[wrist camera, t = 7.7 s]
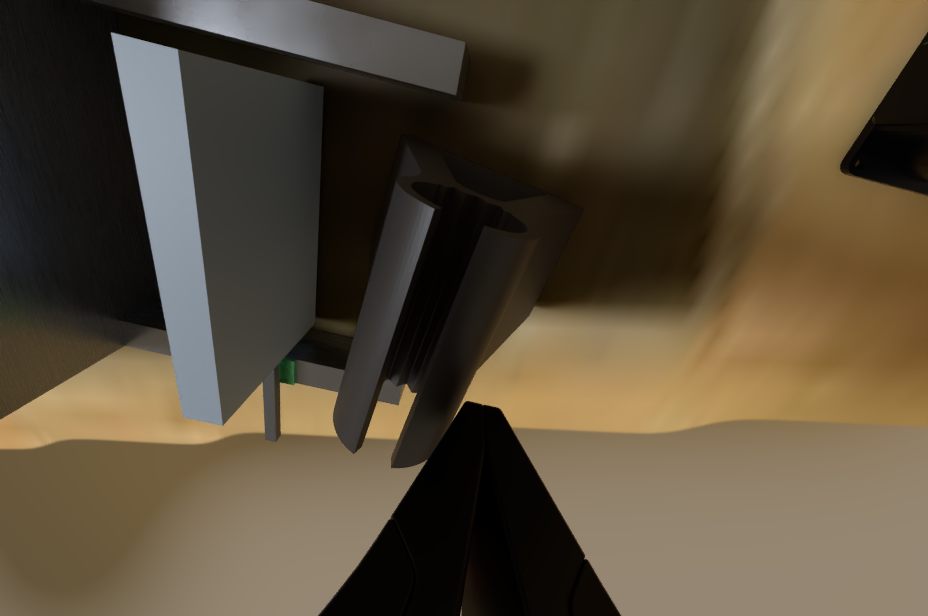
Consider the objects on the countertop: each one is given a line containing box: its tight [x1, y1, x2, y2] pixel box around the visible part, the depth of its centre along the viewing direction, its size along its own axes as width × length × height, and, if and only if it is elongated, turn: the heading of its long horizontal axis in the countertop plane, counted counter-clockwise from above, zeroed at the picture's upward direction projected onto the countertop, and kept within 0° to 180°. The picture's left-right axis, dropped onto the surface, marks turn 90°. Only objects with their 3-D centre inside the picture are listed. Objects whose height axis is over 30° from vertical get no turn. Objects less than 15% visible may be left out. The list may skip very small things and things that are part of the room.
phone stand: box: [333, 134, 584, 468], centre depth 12 cm, size 9×6×12 cm, turn 69°
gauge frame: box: [0, 0, 470, 419], centre depth 14 cm, size 18×17×9 cm
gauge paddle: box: [111, 32, 324, 442], centre depth 16 cm, size 2×18×8 cm, turn 167°
